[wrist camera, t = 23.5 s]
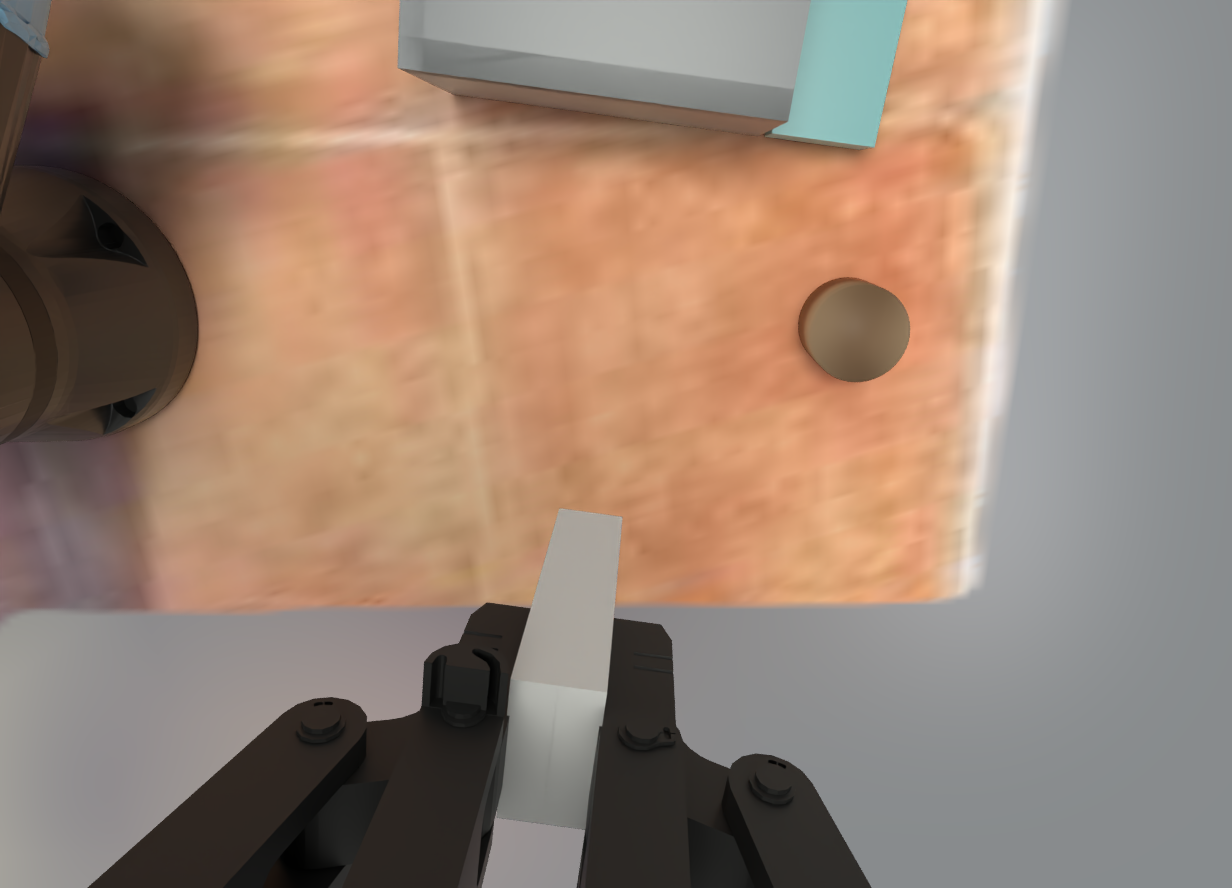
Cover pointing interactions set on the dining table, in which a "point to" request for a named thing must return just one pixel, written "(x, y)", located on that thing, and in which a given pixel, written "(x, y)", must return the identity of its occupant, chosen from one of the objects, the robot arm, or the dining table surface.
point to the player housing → (615, 56)
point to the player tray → (843, 73)
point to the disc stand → (854, 329)
